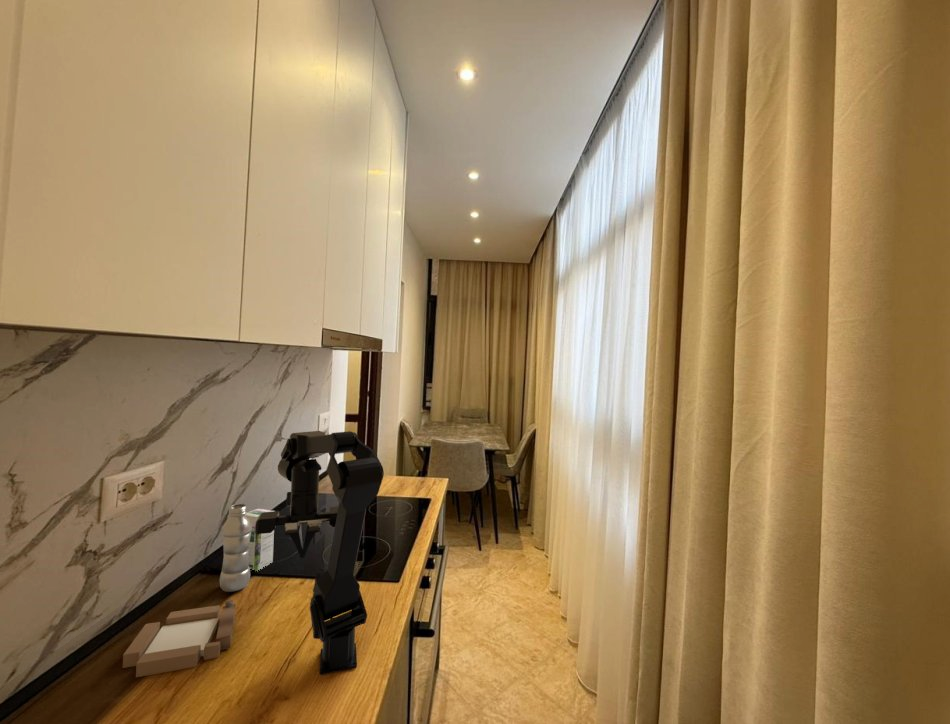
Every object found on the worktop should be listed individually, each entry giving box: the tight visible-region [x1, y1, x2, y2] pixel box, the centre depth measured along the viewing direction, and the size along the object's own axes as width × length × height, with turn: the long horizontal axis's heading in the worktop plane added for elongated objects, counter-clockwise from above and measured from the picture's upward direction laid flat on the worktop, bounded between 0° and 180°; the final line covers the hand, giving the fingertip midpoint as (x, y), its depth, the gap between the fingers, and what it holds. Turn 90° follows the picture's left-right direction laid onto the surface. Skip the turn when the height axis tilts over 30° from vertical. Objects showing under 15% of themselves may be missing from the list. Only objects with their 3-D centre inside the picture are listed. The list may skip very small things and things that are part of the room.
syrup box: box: [245, 508, 275, 572], centre depth 110 cm, size 6×6×14 cm
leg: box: [215, 599, 236, 651], centre depth 83 cm, size 12×2×3 cm, turn 26°
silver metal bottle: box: [219, 503, 252, 593], centre depth 99 cm, size 6×7×20 cm
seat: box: [122, 604, 221, 678], centre depth 79 cm, size 15×15×2 cm
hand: (302, 557), depth 91 cm, fingers closed
